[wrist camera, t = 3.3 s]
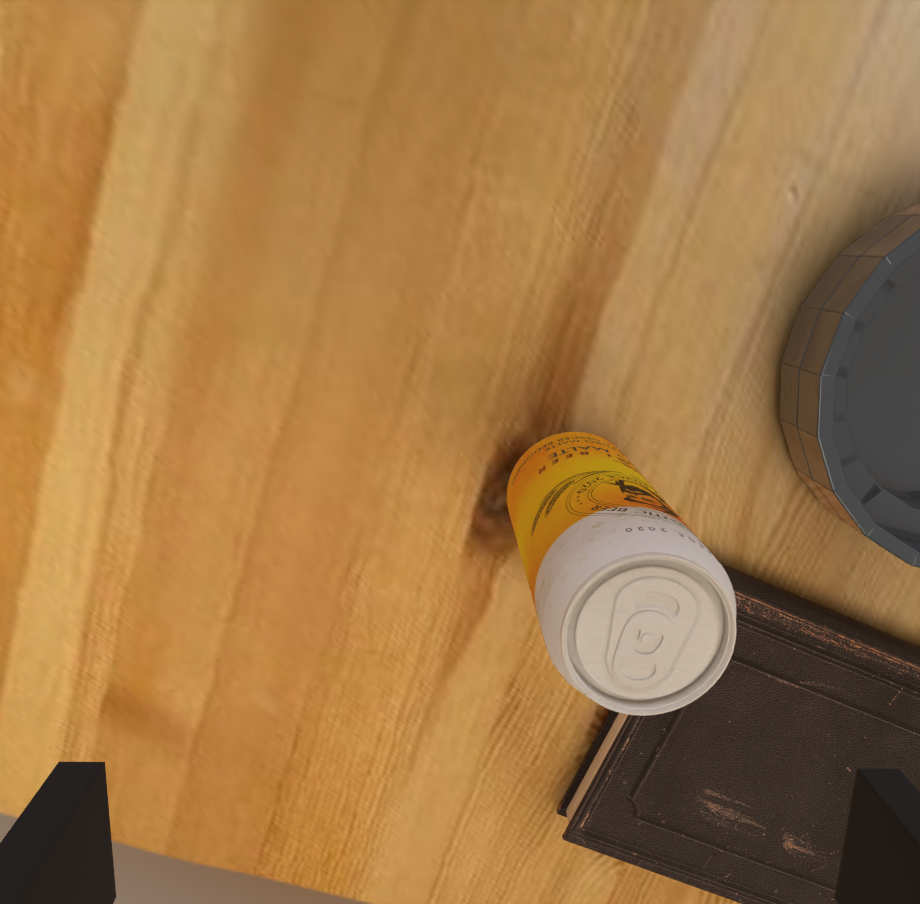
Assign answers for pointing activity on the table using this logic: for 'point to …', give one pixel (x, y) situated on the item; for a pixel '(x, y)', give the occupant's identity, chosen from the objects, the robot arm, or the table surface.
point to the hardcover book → (756, 756)
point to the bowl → (861, 386)
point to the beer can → (618, 578)
